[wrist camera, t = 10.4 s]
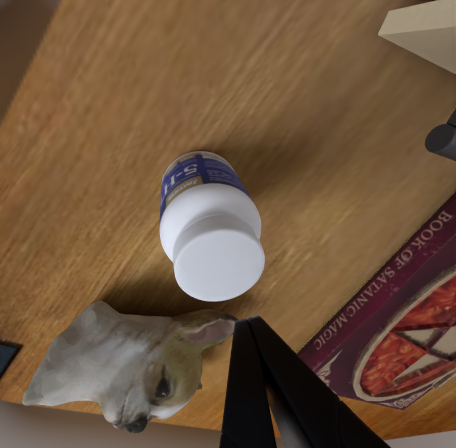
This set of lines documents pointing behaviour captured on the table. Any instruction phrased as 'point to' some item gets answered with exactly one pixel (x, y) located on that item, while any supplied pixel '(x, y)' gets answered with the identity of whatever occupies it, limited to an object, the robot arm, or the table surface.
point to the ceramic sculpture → (128, 363)
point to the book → (396, 324)
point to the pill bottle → (210, 228)
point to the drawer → (428, 53)
